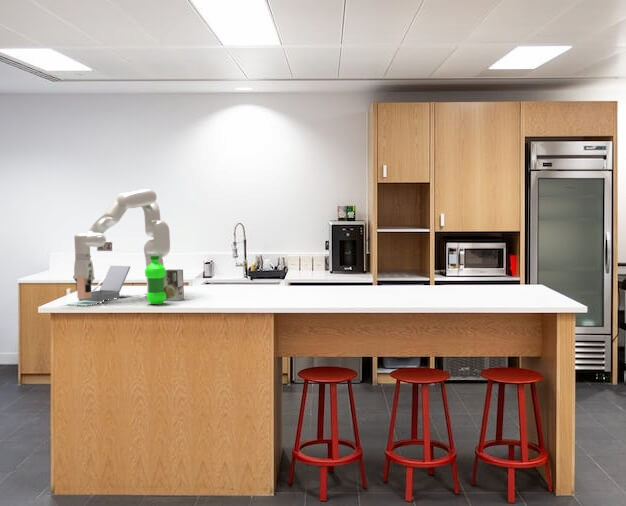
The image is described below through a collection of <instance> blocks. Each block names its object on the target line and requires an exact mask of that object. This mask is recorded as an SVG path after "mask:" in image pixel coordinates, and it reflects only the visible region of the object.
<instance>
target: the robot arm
mask: <svg viewBox="0 0 626 506" xmlns="http://www.w3.org/2000/svg"><path fill="white" fill-rule="evenodd" d="M136 208H142V211H143V213H144V231H145V234H146V235H147V237H150V238H153V239H149V240H148V241H146V242H145V244H144V246H143V253H144V259H145V269H146V268H147V267H148V266H149V265H150V264H151V263H152V260H151V256H159V259H158V262H159V263H160V264H161V265H162V266H163V267H165V266H164V259H163V258H164V257H167V256H168V254H169V253H170V250H171V241H170V240H171V238H170V227H169V225H168V223H167V222H166V221H164V220H161V211H160V206H159V204H158V202H157V193H156V192H155V191H154V190H152V189H149V188H148V189H137V190H136V191H132V192H120V193H119V194H117V195H116V196H115V198H114V199H113V201H112V202H111V203H110V205H109V206H108V208H107V210H106V211H105V212H104V213H103V214H102V215H101V216H100V217H99V218H98V219H97V220H96V221H95V222H94V223H93V224H92V225H91V227H90V228H89V230H88V231H87V232H86V233H76V234H75V235H74V238H73V239H74V256H75V258H74V264H73V265H74V271H73V273H74V274H73V276H72V278H73V280H74V281H75V283H77V276H84V279H85V281H86V285H85V288H86V292H91V291H92V284H93V282H94V280H95V272H94V271H95V270H94V264H93V260H92V259H91V257H92V256H91V248H92V247H93V248H95V247H96V248H100V247H103V246H104V245H105V244H106V242H107V238H106V236H105V235H104V233H105V232H106V231H107V230H109V229H110V228H111V227H113V226H116V225H117V224H118V223H119V222H120V221H121V219H122V217H124V214H126V212H127V210H128V209H136ZM88 277H89V278H88ZM90 277H91V278H90ZM88 280H89V281H88ZM147 294H148V278H147V277H146V293H144V294H143V295H146V296H147Z"/></svg>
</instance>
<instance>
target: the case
mask: <svg viewBox="0 0 626 506" xmlns="http://www.w3.org/2000/svg"><path fill="white" fill-rule="evenodd" d="M130 269H131V266H128V265H110V266H109V268H108V270H107V273H106V275H105V277H103V278H102V280H100V281H99V283H98V284H97V285H96V286H95V287H94V288H93V290H91V293H92V298H86V299H80V298H78V301H79V300H80V301H84V300H85V301H103V300H108V299H114V298H119V297H120V294H121V293H120V292H121V290H122V288H123V285H124V283H125V282H126V279H127V276H128V274H129V272H130ZM100 285H101V286H100ZM99 286H100V289H99V290H97V288H98V287H99Z"/></svg>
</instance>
